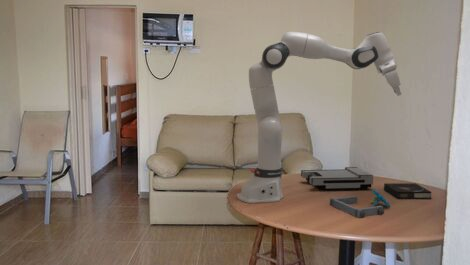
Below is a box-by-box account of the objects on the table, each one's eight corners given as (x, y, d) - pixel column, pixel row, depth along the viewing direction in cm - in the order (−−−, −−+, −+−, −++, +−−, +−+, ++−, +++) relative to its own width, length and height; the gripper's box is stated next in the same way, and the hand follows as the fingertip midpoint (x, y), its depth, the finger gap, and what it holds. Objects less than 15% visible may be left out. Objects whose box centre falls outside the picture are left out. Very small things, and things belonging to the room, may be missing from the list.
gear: (394, 206, 186) (377, 189, 187) (384, 215, 187) (367, 199, 187) (386, 202, 197) (371, 186, 198) (377, 211, 198) (362, 195, 198)
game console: (300, 182, 236) (301, 167, 235) (356, 181, 240) (356, 167, 239) (312, 192, 215) (312, 176, 214) (372, 191, 219) (373, 175, 218)
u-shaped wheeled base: (359, 218, 175) (359, 211, 175) (329, 204, 194) (329, 198, 193) (384, 214, 181) (384, 207, 180) (353, 201, 199) (353, 195, 199)
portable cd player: (397, 200, 203) (397, 192, 203) (383, 190, 220) (384, 183, 220) (431, 200, 204) (431, 192, 203) (415, 191, 221) (415, 183, 220)
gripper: (378, 67, 204) (389, 94, 205) (381, 70, 184) (393, 99, 185) (391, 62, 202) (402, 88, 203) (396, 64, 182) (408, 93, 183)
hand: (398, 94), depth 194 cm, fingers open, 8 cm apart
